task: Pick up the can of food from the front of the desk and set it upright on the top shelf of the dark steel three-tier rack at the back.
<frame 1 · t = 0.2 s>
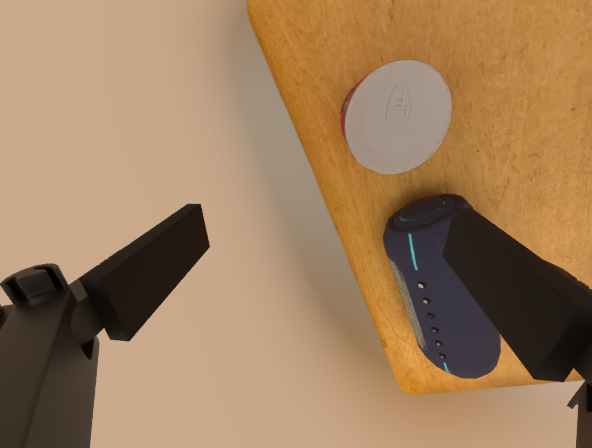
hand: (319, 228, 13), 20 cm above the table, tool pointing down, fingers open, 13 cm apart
portable speaker: (428, 266, 36), on the table
canned food: (373, 116, 28), on the table
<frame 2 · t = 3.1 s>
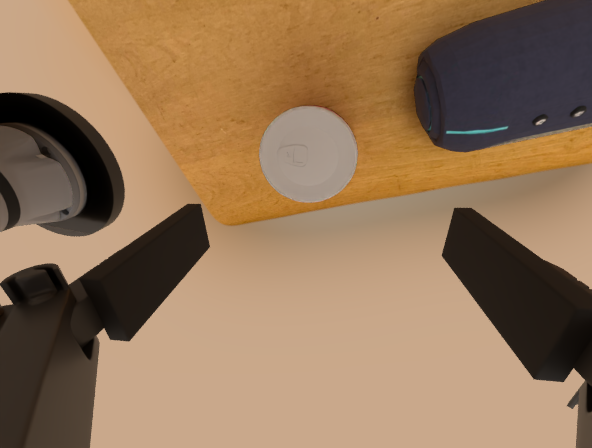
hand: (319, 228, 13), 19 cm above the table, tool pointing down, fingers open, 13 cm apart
portable speaker: (536, 71, 24), on the table
canned food: (314, 140, 29), on the table
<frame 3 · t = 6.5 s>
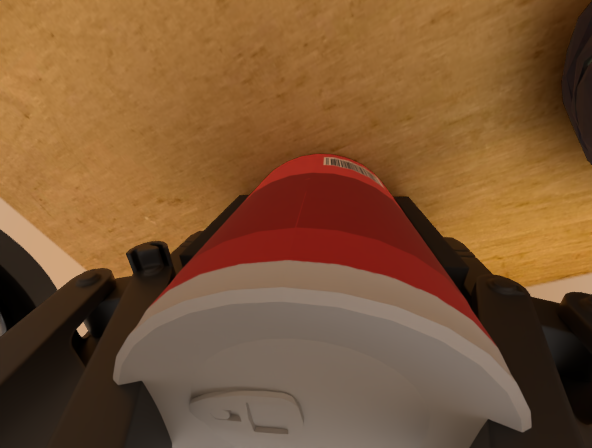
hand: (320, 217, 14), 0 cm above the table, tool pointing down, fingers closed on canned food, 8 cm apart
canned food: (320, 214, 15), on the table, touching gripper
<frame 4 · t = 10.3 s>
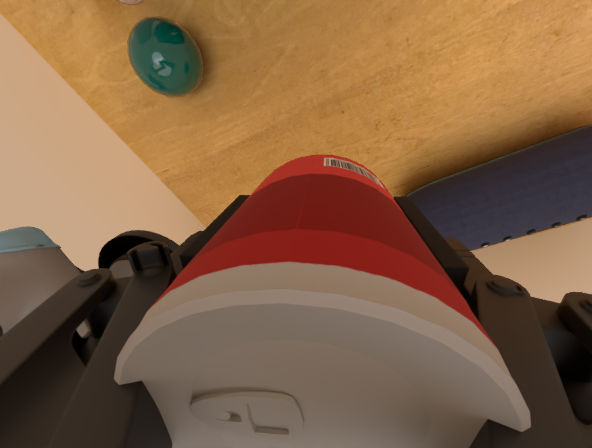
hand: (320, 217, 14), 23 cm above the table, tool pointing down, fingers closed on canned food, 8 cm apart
sphere: (186, 65, 33), on the table
portable speaker: (487, 183, 35), on the table
canned food: (320, 215, 15), point 23 cm above the table, touching gripper
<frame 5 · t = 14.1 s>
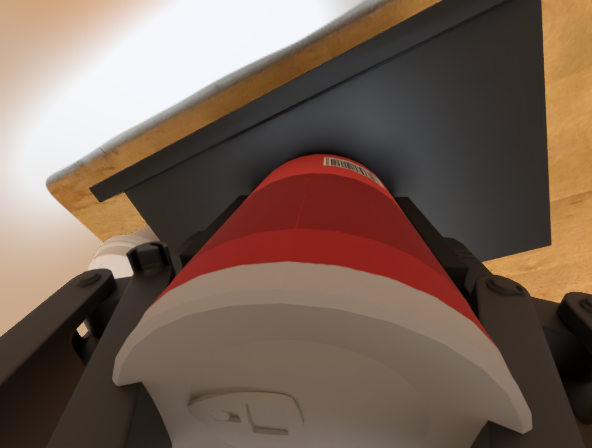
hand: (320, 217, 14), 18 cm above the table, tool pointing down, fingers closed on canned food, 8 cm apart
rack: (325, 159, 30), on the table
coffee cup: (202, 221, 37), on the table
canned food: (320, 215, 15), point 17 cm above the table, touching gripper
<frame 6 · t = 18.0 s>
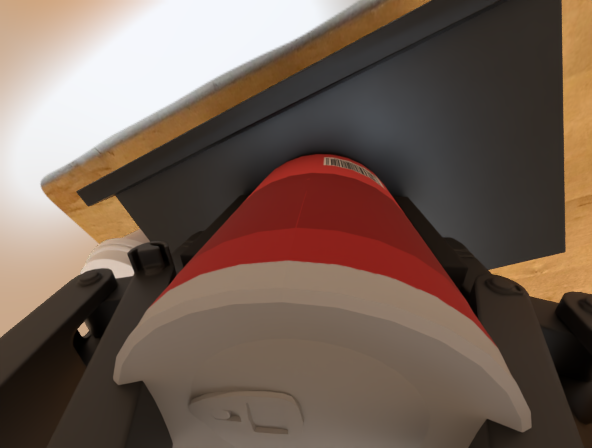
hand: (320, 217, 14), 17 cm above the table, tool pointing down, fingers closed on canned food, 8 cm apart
rack: (325, 159, 29), on the table
coffee cup: (200, 223, 36), on the table
canned food: (320, 214, 15), point 16 cm above the table, touching gripper
when the fingers open (18 cm above the table, at t = 21.9 s): canned food drops 1 cm, resting on rack.
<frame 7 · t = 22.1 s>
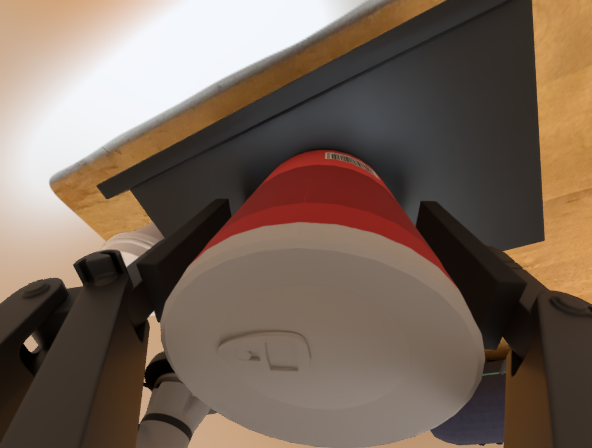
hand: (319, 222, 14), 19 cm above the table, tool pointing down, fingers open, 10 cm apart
rack: (325, 158, 31), on the table
portable speaker: (484, 366, 43), on the table
coffee cup: (204, 219, 37), on the table
canned food: (322, 206, 16), point 16 cm above the table, touching rack
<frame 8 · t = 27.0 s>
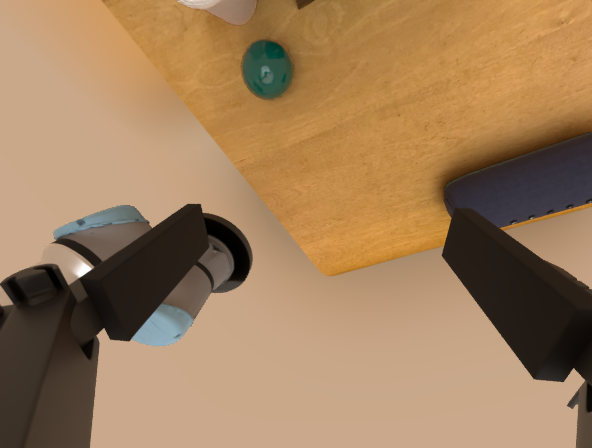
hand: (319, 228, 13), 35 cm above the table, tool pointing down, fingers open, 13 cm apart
sphere: (273, 74, 41), on the table
portable speaker: (512, 176, 43), on the table
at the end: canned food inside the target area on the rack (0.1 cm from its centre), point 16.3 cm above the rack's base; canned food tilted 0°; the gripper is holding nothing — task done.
